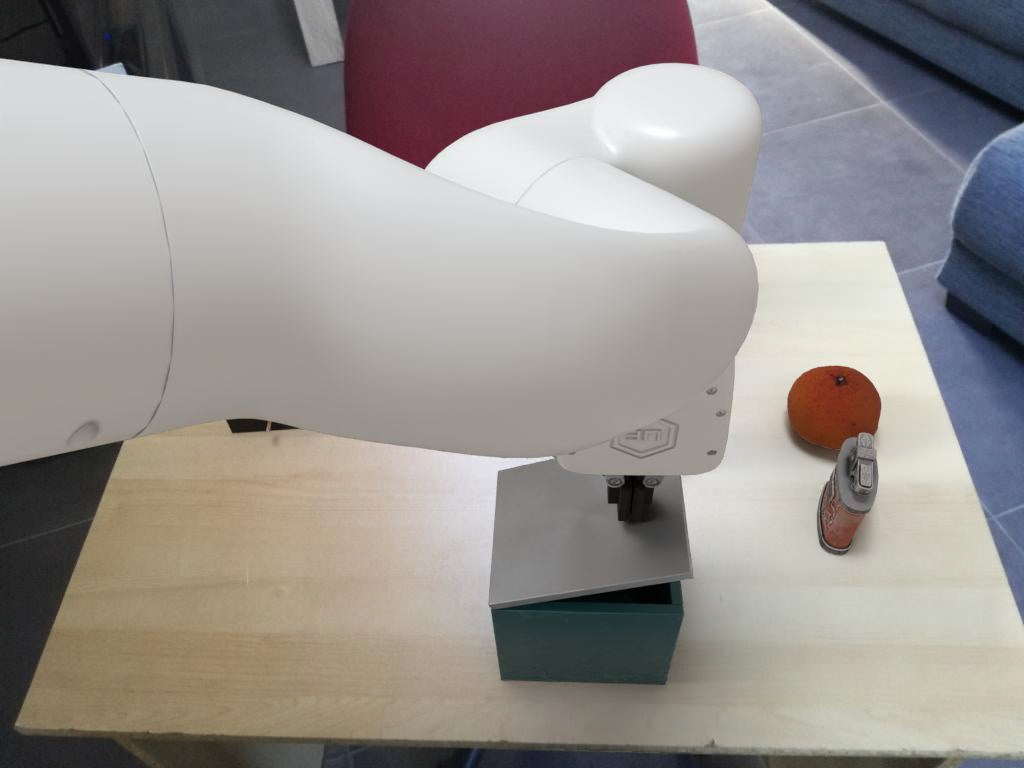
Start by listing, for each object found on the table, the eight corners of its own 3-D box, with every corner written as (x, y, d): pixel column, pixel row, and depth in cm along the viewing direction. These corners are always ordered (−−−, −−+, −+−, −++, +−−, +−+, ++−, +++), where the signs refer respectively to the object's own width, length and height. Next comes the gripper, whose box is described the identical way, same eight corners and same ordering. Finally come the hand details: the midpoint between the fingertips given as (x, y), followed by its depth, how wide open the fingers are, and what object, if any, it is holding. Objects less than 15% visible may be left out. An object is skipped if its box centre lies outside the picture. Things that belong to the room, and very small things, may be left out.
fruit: (786, 462, 77) (805, 411, 71) (776, 396, 83) (792, 344, 77) (877, 468, 76) (904, 416, 70) (861, 401, 82) (884, 348, 76)
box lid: (676, 438, 57) (673, 431, 57) (694, 578, 50) (690, 572, 49) (501, 476, 62) (497, 470, 62) (492, 610, 54) (487, 605, 54)
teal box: (654, 559, 71) (669, 478, 61) (665, 684, 63) (684, 615, 53) (507, 556, 72) (499, 476, 62) (500, 680, 64) (490, 610, 54)
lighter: (818, 480, 76) (847, 416, 68) (855, 488, 75) (887, 423, 67) (814, 550, 71) (844, 488, 63) (853, 559, 70) (888, 497, 62)
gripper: (505, 363, 38) (520, 549, 52) (810, 363, 37) (744, 552, 51) (512, 268, 43) (524, 460, 57) (780, 265, 42) (727, 461, 56)
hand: (628, 503), depth 54 cm, fingers closed
